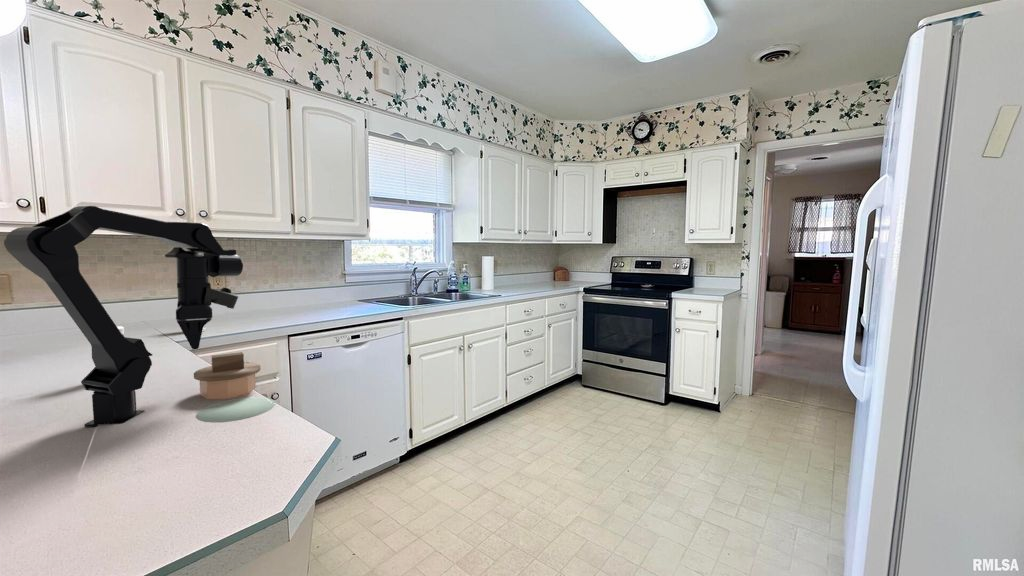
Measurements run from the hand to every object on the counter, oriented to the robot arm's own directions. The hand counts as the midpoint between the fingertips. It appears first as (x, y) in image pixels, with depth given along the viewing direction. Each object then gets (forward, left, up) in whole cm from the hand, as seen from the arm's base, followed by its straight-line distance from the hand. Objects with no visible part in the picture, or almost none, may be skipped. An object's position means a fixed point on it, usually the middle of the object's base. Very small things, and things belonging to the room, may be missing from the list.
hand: (195, 345), depth 96 cm
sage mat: (-12, -14, -12) cm, 22 cm away
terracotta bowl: (0, -7, -12) cm, 13 cm away
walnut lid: (0, -7, -7) cm, 9 cm away
